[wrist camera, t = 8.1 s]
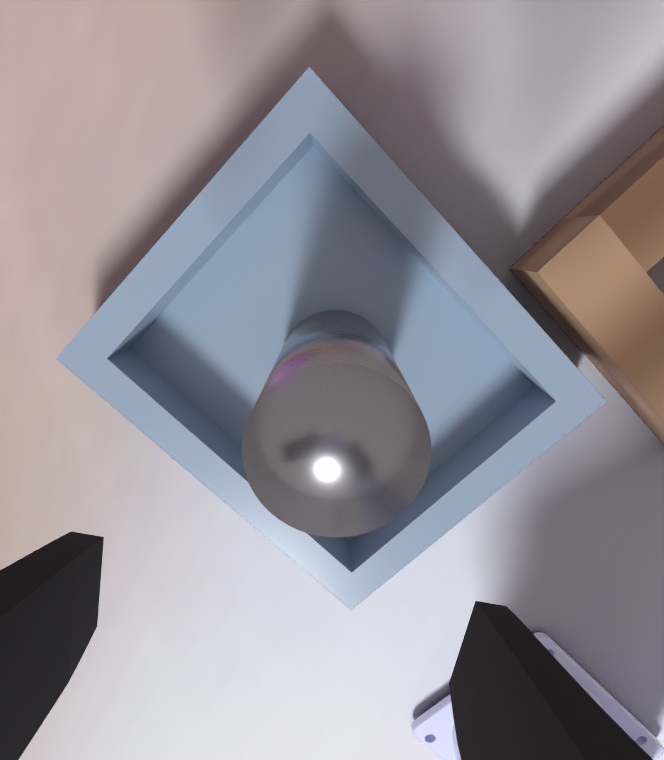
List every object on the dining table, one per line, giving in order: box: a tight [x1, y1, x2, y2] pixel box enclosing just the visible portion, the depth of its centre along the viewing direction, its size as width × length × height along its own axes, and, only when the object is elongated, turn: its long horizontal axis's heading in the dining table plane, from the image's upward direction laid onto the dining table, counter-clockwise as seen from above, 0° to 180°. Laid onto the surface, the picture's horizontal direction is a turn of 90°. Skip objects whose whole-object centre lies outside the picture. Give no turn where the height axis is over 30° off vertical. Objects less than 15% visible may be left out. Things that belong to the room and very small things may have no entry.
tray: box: [56, 67, 607, 610], centre depth 17 cm, size 14×12×2 cm
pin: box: [242, 310, 431, 537], centre depth 14 cm, size 4×4×8 cm
